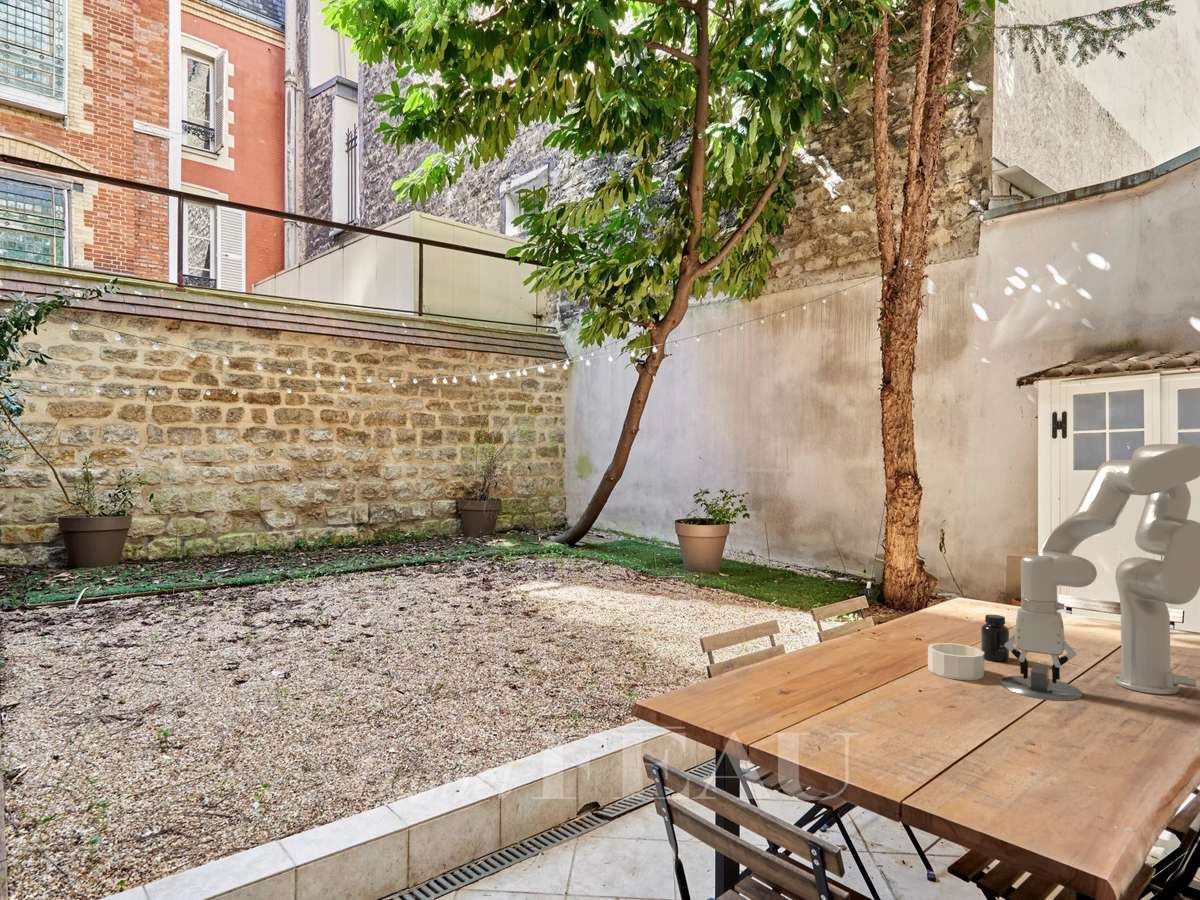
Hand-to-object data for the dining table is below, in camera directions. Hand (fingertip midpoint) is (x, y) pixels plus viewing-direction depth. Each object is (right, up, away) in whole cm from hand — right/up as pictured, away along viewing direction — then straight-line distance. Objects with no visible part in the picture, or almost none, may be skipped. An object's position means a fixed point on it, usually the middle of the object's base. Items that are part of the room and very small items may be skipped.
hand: (1039, 678), depth 169 cm
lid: (0, -3, 0) cm, 3 cm away
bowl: (-14, -3, +13) cm, 19 cm away
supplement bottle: (+3, -3, +24) cm, 24 cm away
